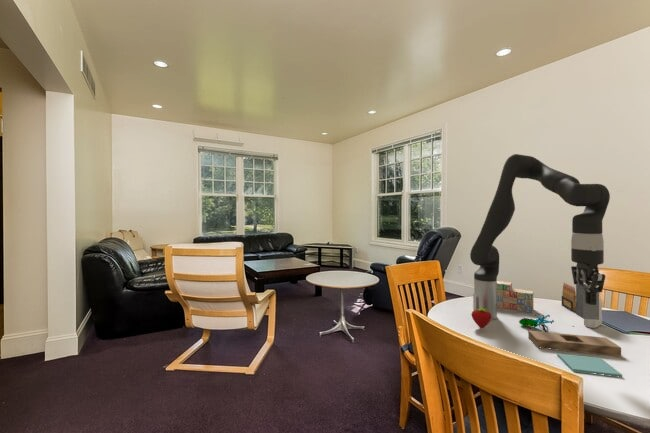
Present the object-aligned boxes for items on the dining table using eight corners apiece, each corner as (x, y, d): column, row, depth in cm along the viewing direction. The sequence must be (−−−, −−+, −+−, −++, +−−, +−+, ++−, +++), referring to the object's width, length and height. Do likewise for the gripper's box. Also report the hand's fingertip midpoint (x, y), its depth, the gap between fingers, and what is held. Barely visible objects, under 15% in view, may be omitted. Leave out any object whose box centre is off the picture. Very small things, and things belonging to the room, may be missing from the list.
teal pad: (572, 371, 88) (572, 368, 88) (557, 355, 97) (557, 353, 97) (622, 377, 84) (622, 374, 84) (600, 360, 94) (600, 358, 94)
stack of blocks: (533, 309, 143) (533, 285, 143) (532, 313, 139) (532, 287, 138) (485, 301, 157) (485, 279, 157) (482, 304, 153) (482, 281, 152)
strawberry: (469, 324, 125) (469, 301, 125) (489, 326, 123) (489, 303, 123) (473, 330, 119) (473, 306, 119) (493, 331, 117) (493, 307, 117)
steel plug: (583, 318, 89) (583, 286, 89) (576, 314, 93) (576, 283, 93) (599, 319, 88) (599, 287, 88) (591, 315, 92) (591, 284, 92)
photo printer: (590, 320, 128) (590, 293, 128) (603, 324, 124) (603, 295, 124) (582, 326, 122) (582, 297, 122) (595, 329, 118) (595, 299, 118)
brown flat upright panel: (561, 305, 149) (561, 282, 149) (565, 305, 149) (565, 282, 149) (572, 312, 139) (572, 287, 139) (577, 312, 138) (577, 287, 138)
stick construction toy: (553, 322, 121) (550, 310, 117) (560, 337, 115) (556, 325, 112) (520, 325, 126) (516, 314, 123) (525, 340, 121) (520, 328, 118)
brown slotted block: (537, 347, 103) (537, 339, 103) (528, 338, 111) (528, 330, 111) (621, 356, 96) (621, 347, 96) (605, 345, 104) (605, 337, 104)
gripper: (561, 244, 98) (561, 295, 99) (585, 250, 85) (585, 308, 85) (588, 245, 96) (588, 296, 96) (617, 250, 83) (617, 310, 83)
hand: (587, 301), depth 91 cm, fingers closed on steel plug, 4 cm apart
